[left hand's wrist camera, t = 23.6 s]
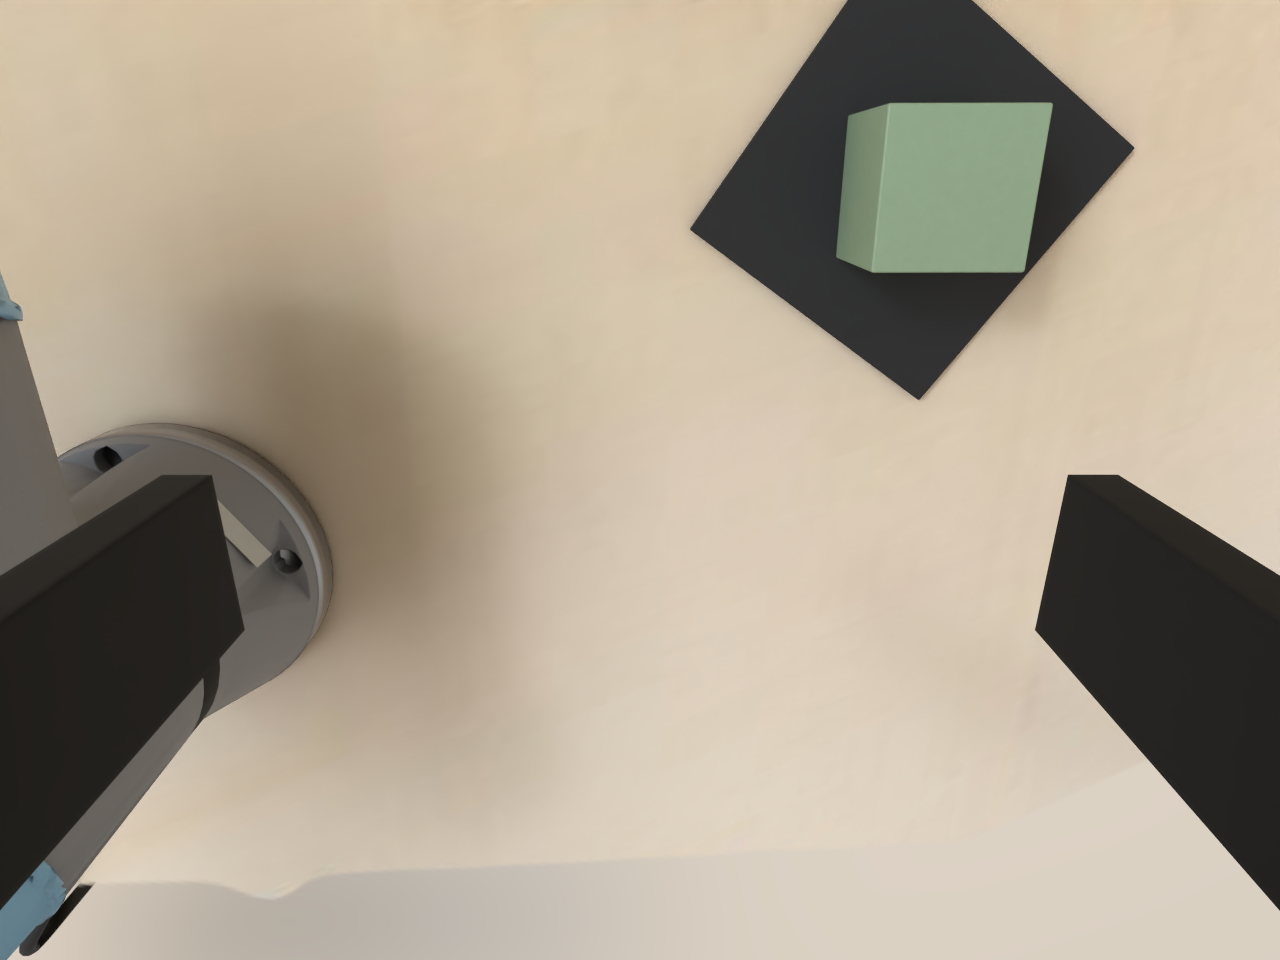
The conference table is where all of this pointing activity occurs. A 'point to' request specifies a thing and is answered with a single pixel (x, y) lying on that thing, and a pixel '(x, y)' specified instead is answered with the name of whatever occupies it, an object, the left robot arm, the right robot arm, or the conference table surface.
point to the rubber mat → (814, 162)
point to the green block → (941, 186)
